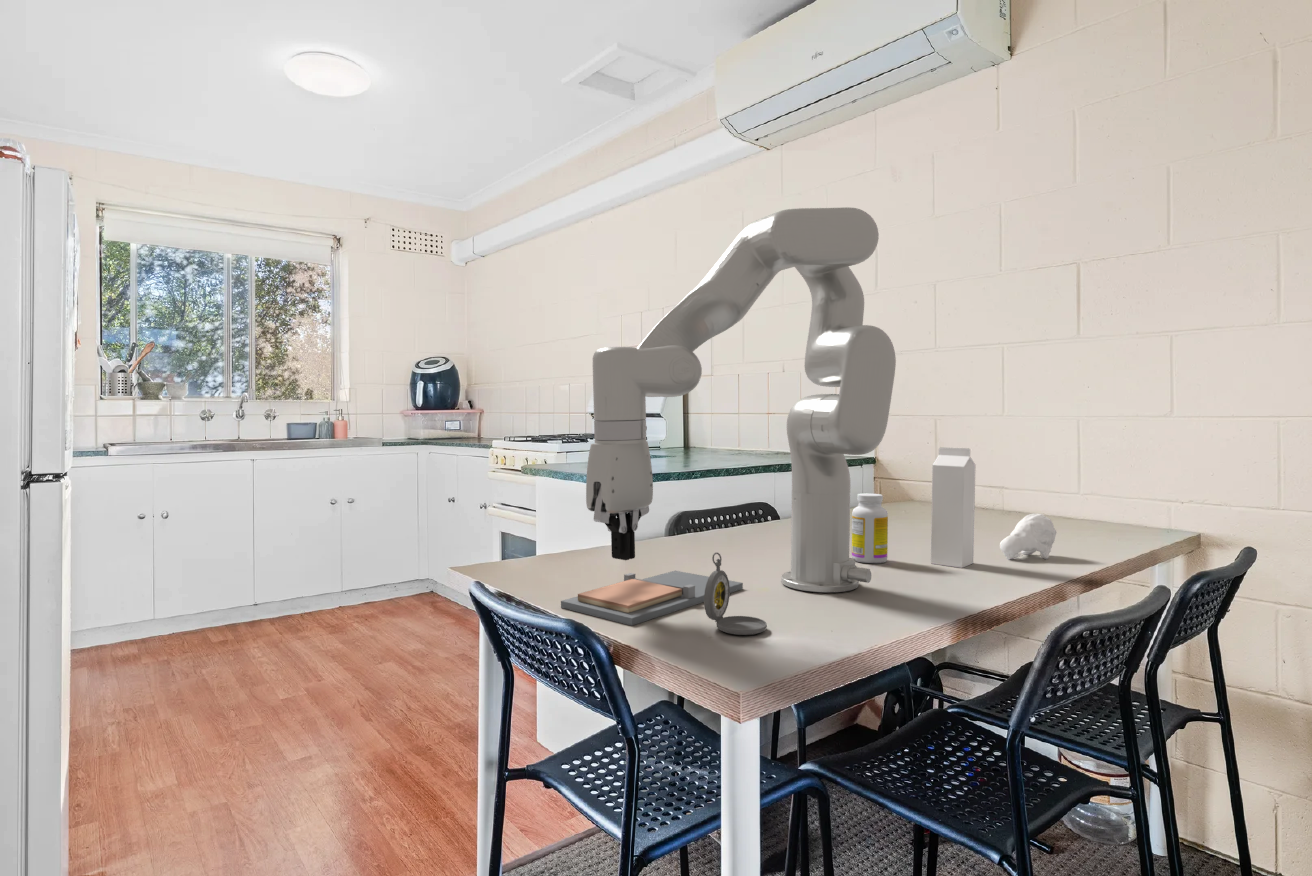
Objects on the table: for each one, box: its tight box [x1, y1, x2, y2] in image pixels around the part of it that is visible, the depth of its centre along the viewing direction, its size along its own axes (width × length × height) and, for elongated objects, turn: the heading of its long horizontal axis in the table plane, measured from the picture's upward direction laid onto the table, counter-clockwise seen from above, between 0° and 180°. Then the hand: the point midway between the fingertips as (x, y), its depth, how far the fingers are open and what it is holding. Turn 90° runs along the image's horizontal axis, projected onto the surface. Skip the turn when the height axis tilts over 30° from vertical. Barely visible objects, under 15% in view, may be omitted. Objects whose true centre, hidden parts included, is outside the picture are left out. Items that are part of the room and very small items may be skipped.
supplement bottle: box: [851, 492, 889, 564], centre depth 145 cm, size 7×7×13 cm
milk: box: [930, 446, 977, 569], centre depth 142 cm, size 6×6×22 cm
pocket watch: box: [703, 552, 768, 636], centre depth 100 cm, size 8×8×10 cm
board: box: [560, 570, 744, 627], centre depth 116 cm, size 14×27×3 cm, turn 140°
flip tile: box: [577, 577, 683, 613], centre depth 112 cm, size 10×13×1 cm
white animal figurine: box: [999, 513, 1058, 561], centre depth 148 cm, size 6×8×12 cm
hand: (623, 558), depth 110 cm, fingers closed
